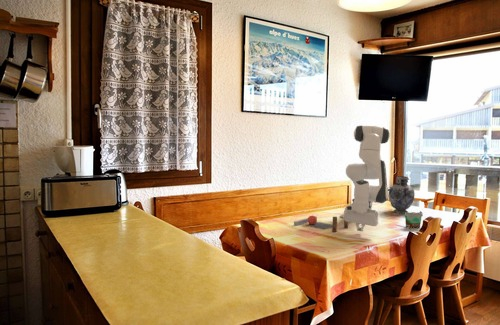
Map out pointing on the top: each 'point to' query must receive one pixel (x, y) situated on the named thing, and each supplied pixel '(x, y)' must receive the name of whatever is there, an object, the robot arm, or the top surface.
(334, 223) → the post
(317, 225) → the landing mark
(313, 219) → the ball
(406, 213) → the food container
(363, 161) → the robot arm
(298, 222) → the stopper wall
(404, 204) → the decorative vase
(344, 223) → the post
